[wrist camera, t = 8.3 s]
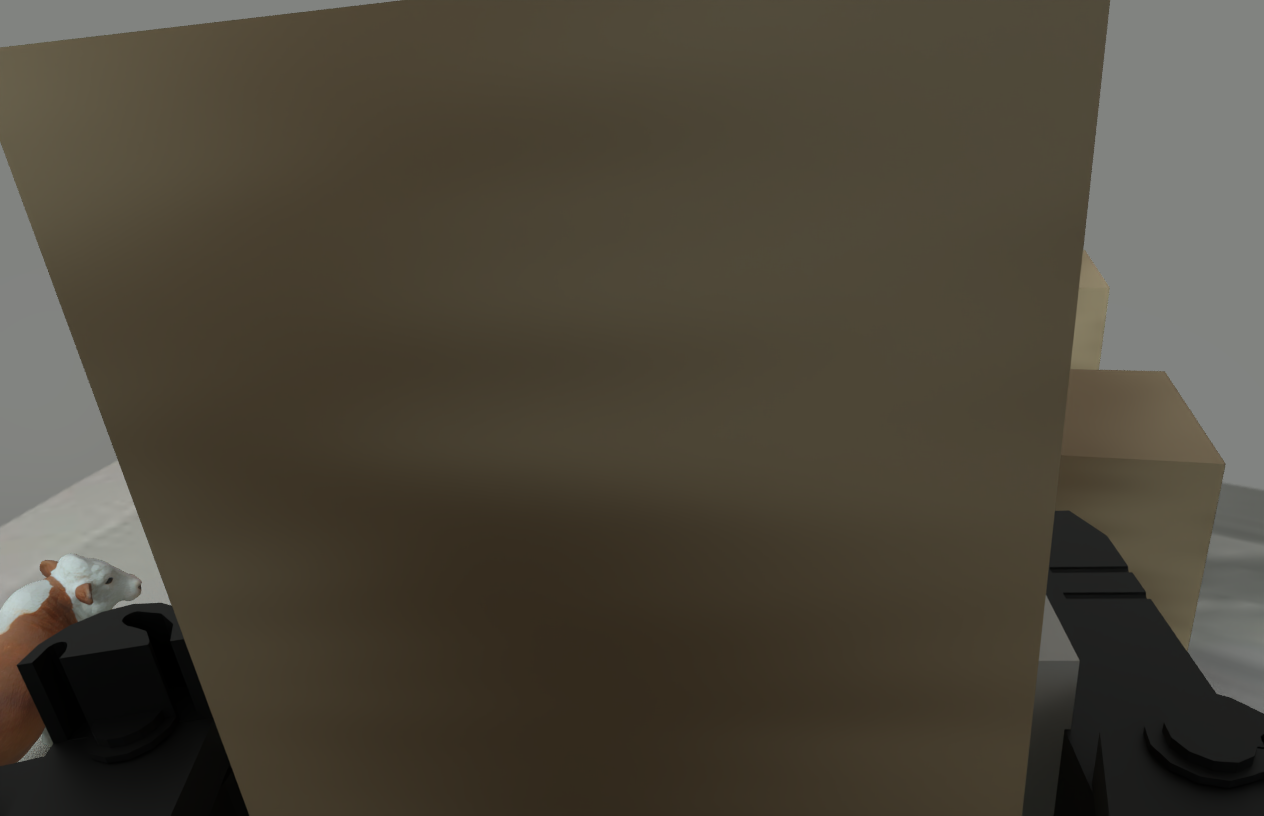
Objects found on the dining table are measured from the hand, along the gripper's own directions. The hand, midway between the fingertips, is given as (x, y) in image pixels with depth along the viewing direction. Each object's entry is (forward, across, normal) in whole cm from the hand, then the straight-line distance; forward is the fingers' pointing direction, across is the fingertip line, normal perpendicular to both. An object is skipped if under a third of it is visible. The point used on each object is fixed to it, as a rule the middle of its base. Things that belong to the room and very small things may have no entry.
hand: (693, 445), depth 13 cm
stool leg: (-5, 0, -8) cm, 10 cm away
